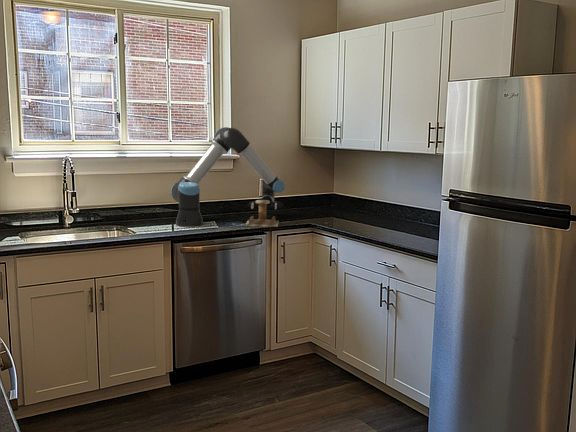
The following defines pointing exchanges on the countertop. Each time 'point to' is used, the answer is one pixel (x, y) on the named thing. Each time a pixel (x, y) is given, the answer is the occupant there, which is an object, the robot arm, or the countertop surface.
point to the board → (262, 222)
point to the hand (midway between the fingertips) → (263, 206)
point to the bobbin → (262, 208)
